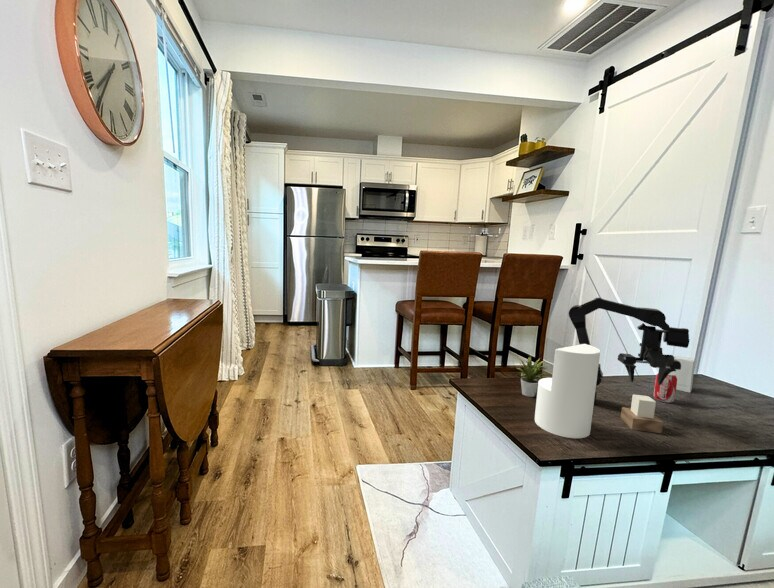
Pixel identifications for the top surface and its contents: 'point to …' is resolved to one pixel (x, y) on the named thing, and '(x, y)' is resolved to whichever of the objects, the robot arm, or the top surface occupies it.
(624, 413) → the tan square slab
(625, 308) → the robot arm
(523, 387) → the house plant
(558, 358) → the white stepped curved block
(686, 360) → the skincare box
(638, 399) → the cream cube
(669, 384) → the soda can
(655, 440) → the top surface
